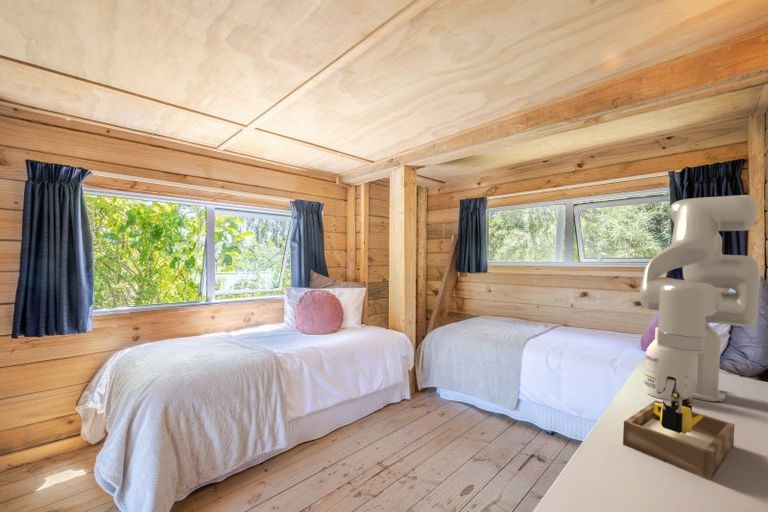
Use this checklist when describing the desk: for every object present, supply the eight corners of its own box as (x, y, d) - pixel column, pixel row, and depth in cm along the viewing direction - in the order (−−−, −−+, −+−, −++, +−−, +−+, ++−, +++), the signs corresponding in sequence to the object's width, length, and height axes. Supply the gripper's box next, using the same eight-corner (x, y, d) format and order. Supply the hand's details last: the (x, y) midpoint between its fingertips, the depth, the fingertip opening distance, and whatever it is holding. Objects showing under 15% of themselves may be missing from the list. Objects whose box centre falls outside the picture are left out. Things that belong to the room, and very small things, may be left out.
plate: (651, 427, 81) (652, 418, 81) (715, 449, 72) (716, 440, 72) (637, 438, 75) (637, 429, 75) (704, 464, 66) (705, 454, 66)
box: (654, 420, 86) (655, 400, 86) (733, 447, 75) (734, 424, 75) (622, 444, 75) (623, 421, 74) (710, 480, 63) (711, 453, 63)
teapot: (702, 429, 73) (703, 405, 73) (702, 439, 69) (703, 414, 69) (654, 416, 79) (655, 393, 78) (652, 425, 74) (653, 401, 74)
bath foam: (668, 401, 98) (671, 331, 98) (640, 393, 104) (643, 327, 103) (677, 396, 102) (680, 329, 101) (649, 388, 107) (652, 324, 107)
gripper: (670, 333, 81) (667, 408, 82) (644, 342, 71) (640, 429, 72) (714, 340, 75) (710, 422, 76) (691, 352, 65) (687, 446, 66)
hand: (676, 424), depth 74 cm, fingers closed on teapot, 6 cm apart
